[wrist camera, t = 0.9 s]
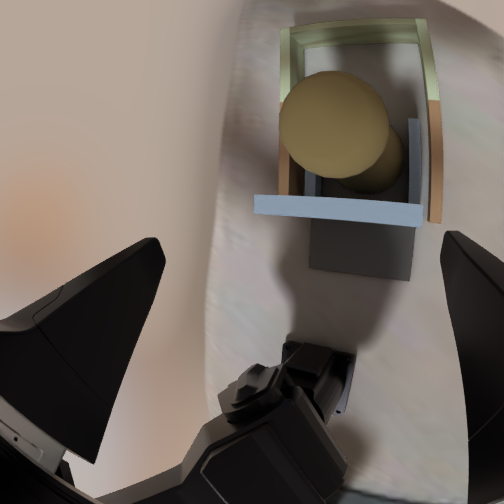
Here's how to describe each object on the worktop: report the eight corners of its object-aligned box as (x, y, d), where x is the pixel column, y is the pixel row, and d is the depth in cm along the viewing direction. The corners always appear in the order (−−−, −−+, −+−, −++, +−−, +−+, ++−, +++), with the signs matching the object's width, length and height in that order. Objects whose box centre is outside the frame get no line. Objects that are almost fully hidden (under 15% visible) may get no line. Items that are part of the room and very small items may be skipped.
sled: (418, 219, 20) (421, 227, 12) (310, 210, 24) (253, 213, 16) (418, 124, 18) (418, 76, 11) (312, 122, 22) (257, 85, 15)
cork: (346, 206, 22) (290, 208, 13) (314, 136, 23) (240, 93, 13) (418, 175, 19) (421, 149, 10) (381, 103, 20) (350, 31, 10)
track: (437, 221, 19) (441, 223, 16) (293, 209, 25) (277, 210, 22) (426, 38, 16) (425, 18, 14) (294, 44, 22) (280, 29, 19)
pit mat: (409, 280, 21) (409, 281, 20) (310, 267, 24) (308, 267, 24) (415, 225, 20) (415, 226, 20) (313, 216, 24) (311, 216, 23)
